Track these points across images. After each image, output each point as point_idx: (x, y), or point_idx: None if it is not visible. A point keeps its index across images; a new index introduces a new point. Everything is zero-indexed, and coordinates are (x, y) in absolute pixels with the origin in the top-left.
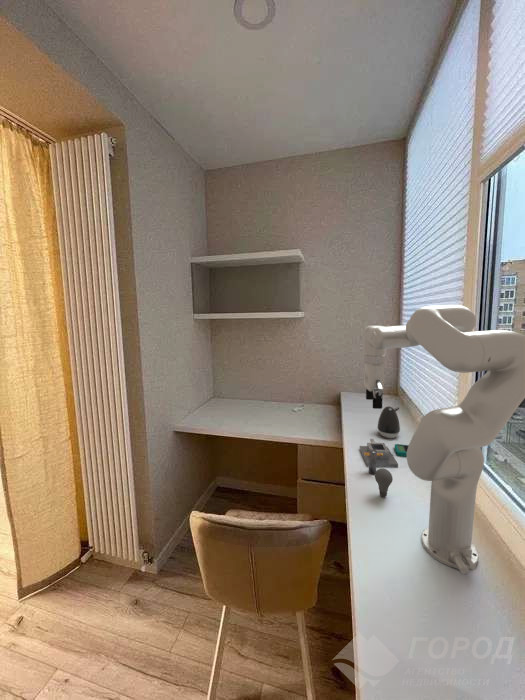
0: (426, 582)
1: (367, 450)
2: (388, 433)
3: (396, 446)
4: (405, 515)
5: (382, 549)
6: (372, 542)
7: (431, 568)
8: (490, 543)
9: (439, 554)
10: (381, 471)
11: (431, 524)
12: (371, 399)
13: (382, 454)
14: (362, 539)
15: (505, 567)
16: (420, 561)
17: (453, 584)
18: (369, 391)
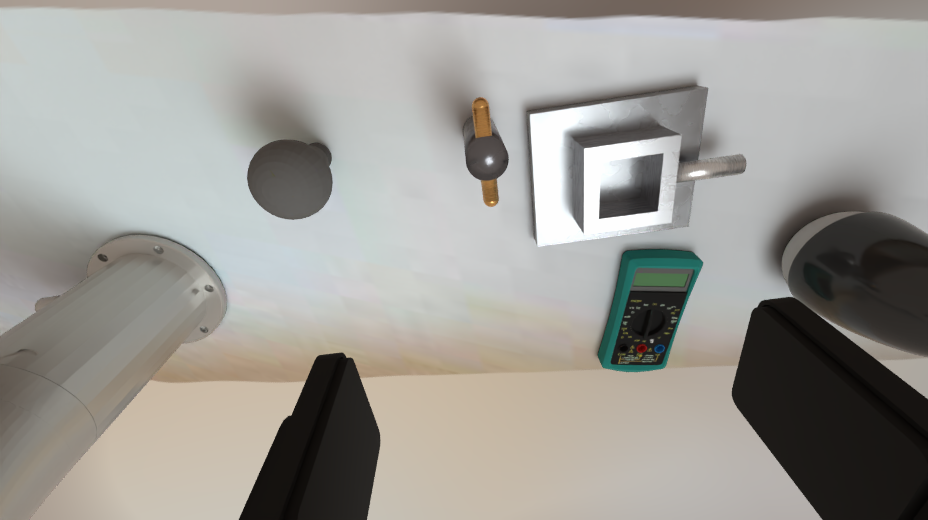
0: (4, 213)
1: (649, 128)
2: (797, 254)
3: (675, 265)
4: (245, 212)
5: (38, 114)
6: (46, 83)
7: (62, 235)
8: (235, 370)
9: (100, 266)
10: (262, 180)
11: (76, 289)
12: (743, 362)
13: (486, 204)
14: (35, 46)
15: (172, 371)
16: (68, 214)
17: (45, 268)
18: (875, 473)
